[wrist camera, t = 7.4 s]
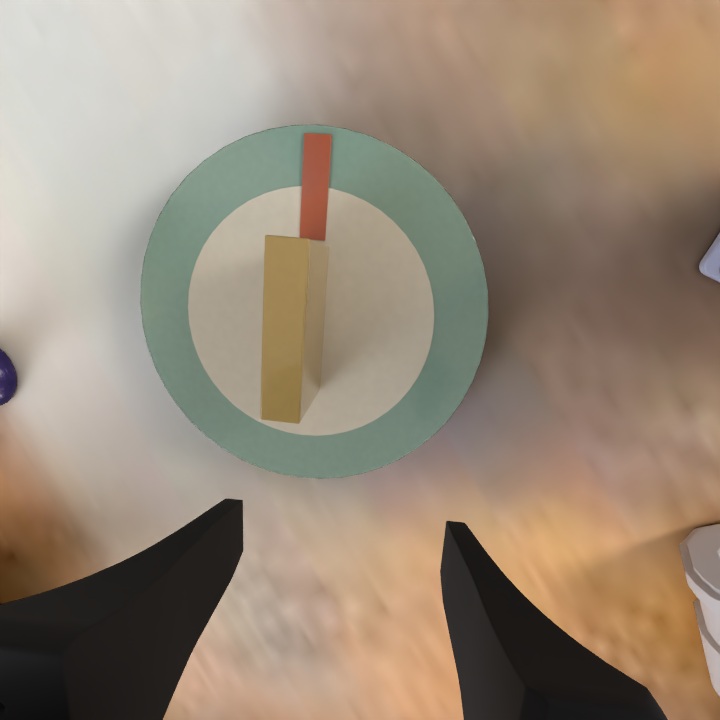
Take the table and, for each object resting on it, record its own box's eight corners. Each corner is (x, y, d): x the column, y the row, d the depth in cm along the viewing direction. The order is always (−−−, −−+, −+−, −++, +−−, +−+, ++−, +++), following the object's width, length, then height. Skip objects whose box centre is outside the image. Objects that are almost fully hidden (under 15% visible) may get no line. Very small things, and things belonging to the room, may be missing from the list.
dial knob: (458, 488, 21) (479, 559, 16) (155, 452, 22) (83, 508, 17) (513, 143, 17) (564, 88, 12) (142, 119, 18) (42, 59, 13)
